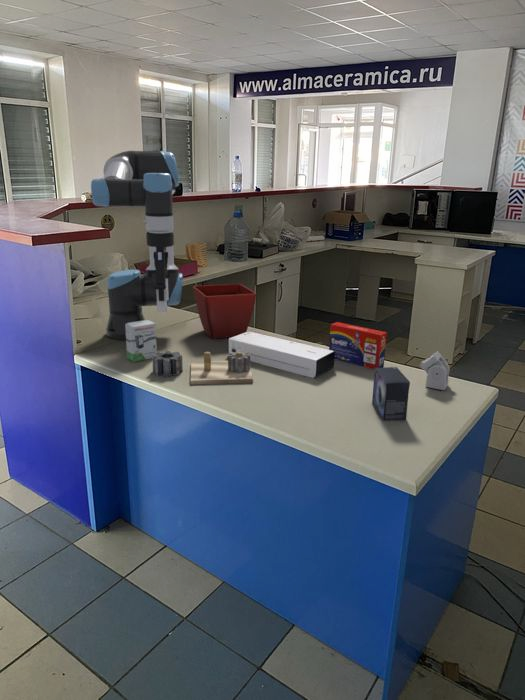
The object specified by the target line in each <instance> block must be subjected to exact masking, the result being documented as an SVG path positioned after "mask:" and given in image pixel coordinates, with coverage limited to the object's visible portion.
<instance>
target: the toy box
mask: <svg viewBox="0 0 525 700" xmlns="http://www.w3.org/2000/svg"><path fill="white" fill-rule="evenodd" d="M387 336H388V332H386V331H381V330H376V329H373V328H368V327H362V326H358V325H352V324H349V323H343V322H339V321H336V322H334V323H331V324H330V330H329V348H328V350H332V351H335V361H340V362H344V363H347V364H352V365H355V366H360V367H363V368H367V369H371V370H374V371H375V368H385V355H386V347H387V346H386V345H387Z"/></svg>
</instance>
